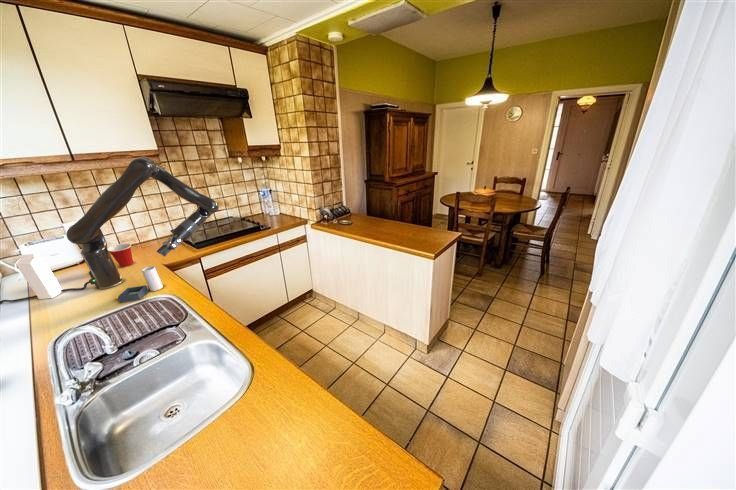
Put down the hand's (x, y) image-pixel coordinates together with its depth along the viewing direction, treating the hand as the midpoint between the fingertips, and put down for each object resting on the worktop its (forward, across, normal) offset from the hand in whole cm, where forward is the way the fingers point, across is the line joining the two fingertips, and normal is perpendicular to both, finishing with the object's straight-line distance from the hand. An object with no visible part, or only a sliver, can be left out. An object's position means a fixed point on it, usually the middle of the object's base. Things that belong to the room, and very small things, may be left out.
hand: (160, 253), depth 128 cm
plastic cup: (+14, -51, +3) cm, 53 cm away
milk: (+41, -40, -11) cm, 58 cm away
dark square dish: (+21, -2, +6) cm, 22 cm away
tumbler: (+14, -2, +11) cm, 17 cm away
